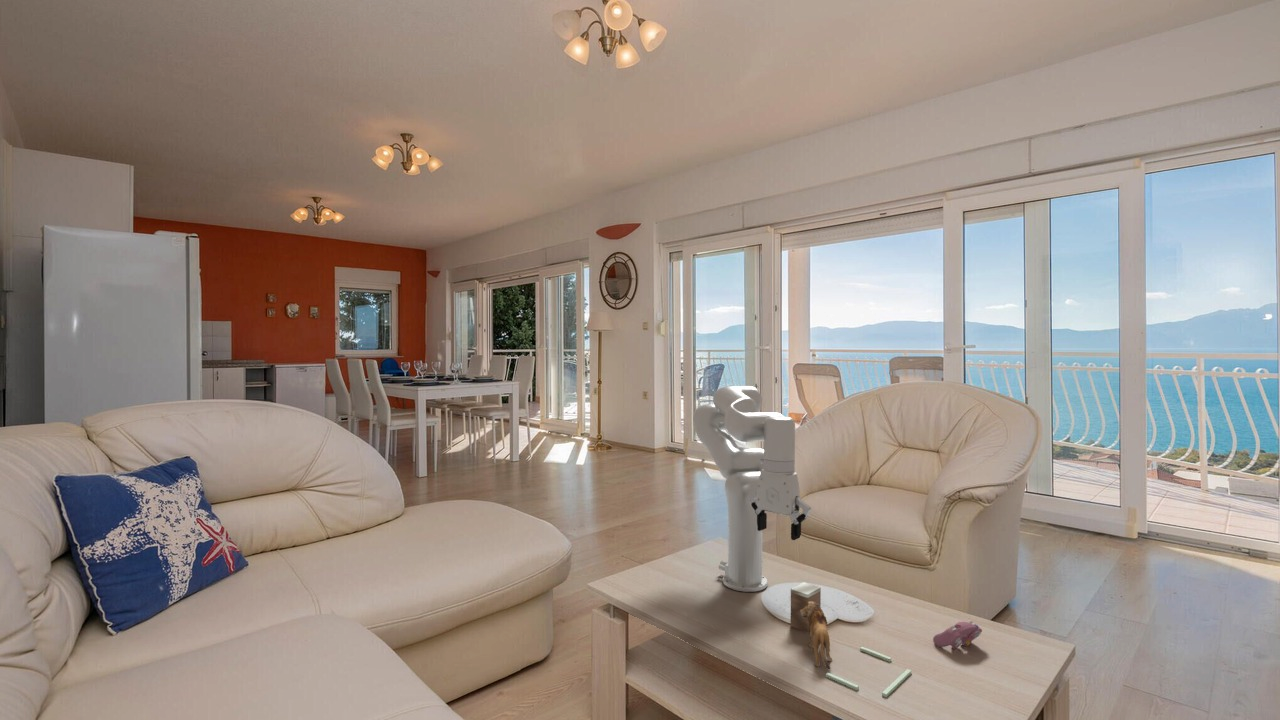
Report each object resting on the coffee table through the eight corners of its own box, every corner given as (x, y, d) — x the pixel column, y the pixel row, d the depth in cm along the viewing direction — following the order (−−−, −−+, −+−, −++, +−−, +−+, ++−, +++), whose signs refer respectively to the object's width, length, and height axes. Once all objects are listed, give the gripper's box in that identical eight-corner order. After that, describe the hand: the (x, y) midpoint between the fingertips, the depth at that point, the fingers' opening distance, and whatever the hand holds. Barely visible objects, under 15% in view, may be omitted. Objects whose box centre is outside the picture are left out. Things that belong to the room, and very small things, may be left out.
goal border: (826, 676, 117) (826, 673, 117) (861, 649, 128) (861, 646, 128) (882, 701, 109) (882, 698, 109) (915, 669, 120) (915, 666, 120)
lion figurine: (798, 637, 133) (798, 598, 133) (821, 637, 133) (821, 598, 133) (817, 672, 119) (817, 628, 119) (843, 672, 119) (843, 628, 119)
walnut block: (790, 626, 139) (790, 588, 139) (803, 618, 143) (803, 582, 143) (807, 632, 135) (807, 594, 135) (820, 624, 140) (820, 587, 139)
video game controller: (945, 658, 127) (958, 637, 124) (929, 641, 131) (942, 619, 128) (976, 649, 131) (989, 628, 128) (959, 632, 134) (972, 611, 132)
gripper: (741, 463, 148) (741, 529, 148) (802, 474, 135) (801, 546, 136) (758, 459, 153) (757, 523, 153) (818, 469, 141) (817, 539, 141)
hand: (778, 534), depth 145 cm, fingers open, 9 cm apart
